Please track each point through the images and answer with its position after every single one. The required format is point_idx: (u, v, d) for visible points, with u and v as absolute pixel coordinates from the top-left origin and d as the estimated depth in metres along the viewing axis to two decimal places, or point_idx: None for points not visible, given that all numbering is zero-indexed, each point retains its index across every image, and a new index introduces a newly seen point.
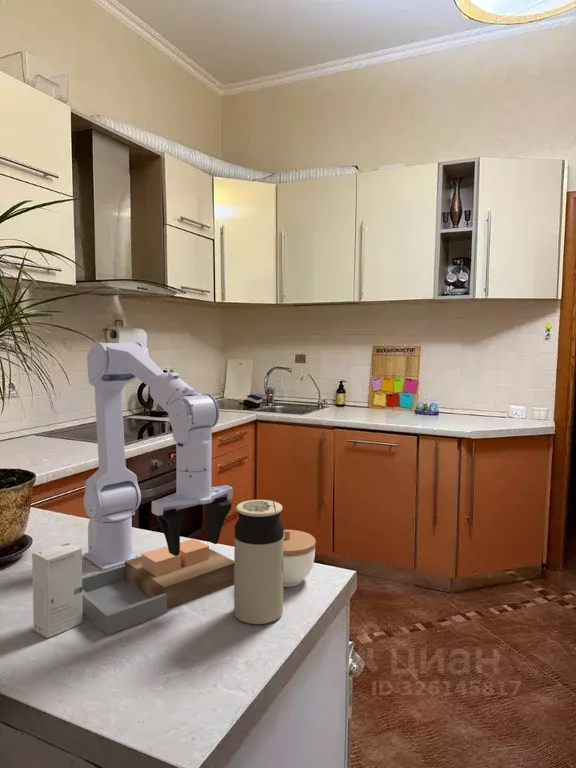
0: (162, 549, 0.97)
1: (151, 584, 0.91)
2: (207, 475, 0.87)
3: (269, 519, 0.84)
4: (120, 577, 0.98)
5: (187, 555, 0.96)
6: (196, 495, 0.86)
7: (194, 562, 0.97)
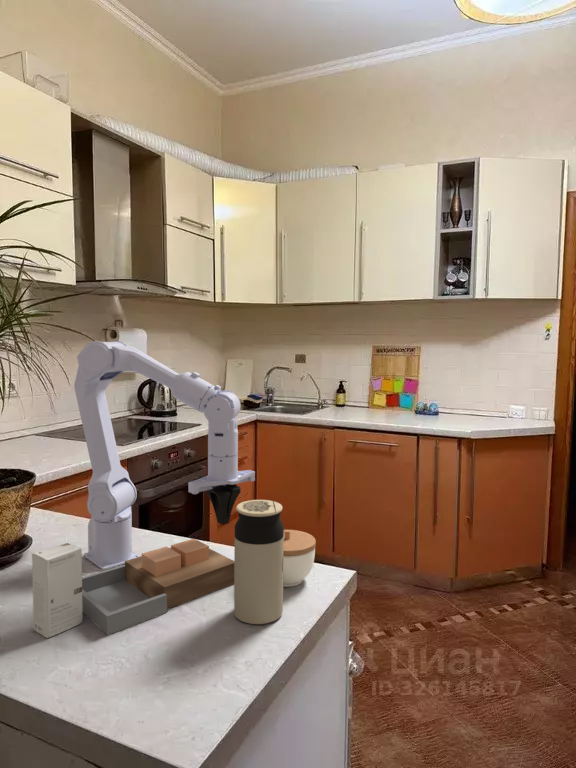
0: (162, 549, 0.97)
1: (151, 584, 0.91)
2: (234, 460, 1.02)
3: (269, 519, 0.84)
4: (120, 577, 0.98)
5: (187, 555, 0.96)
6: (225, 477, 1.01)
7: (194, 562, 0.97)
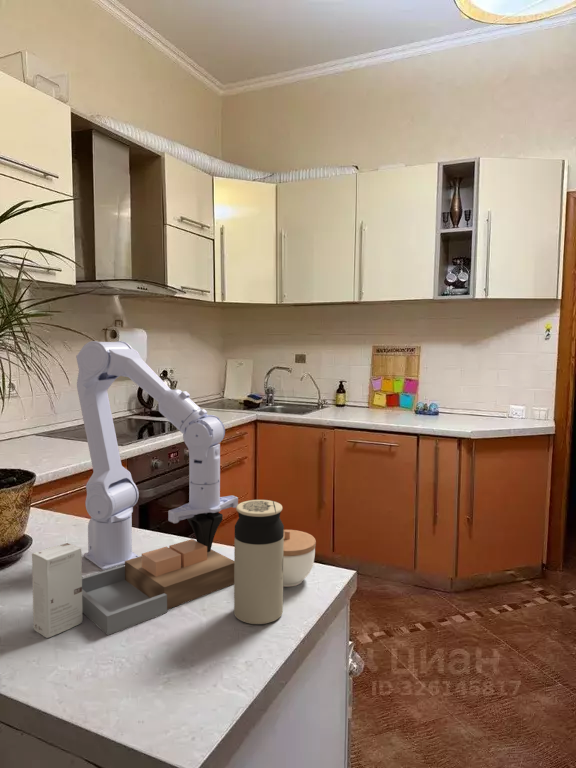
0: (162, 549, 0.97)
1: (151, 584, 0.91)
2: (216, 487, 0.99)
3: (269, 519, 0.84)
4: (120, 577, 0.98)
5: (186, 555, 0.96)
6: (207, 505, 0.98)
7: (192, 563, 0.97)
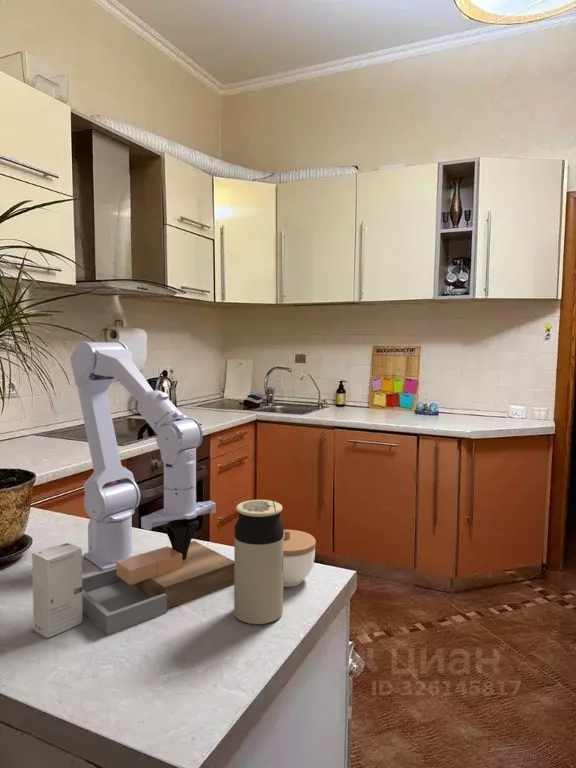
0: (138, 556, 0.94)
1: (151, 584, 0.91)
2: (191, 492, 0.95)
3: (269, 519, 0.84)
4: None
5: (159, 564, 0.92)
6: (182, 511, 0.95)
7: (166, 571, 0.93)
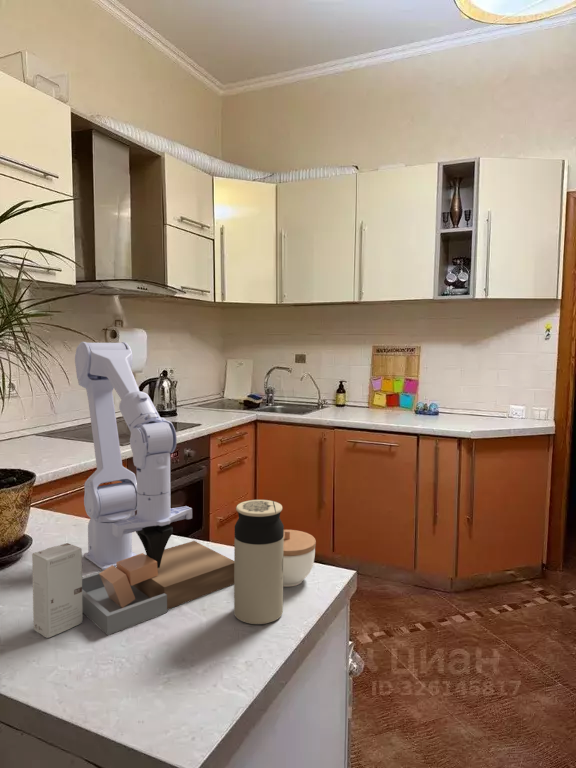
0: (103, 581, 0.90)
1: (151, 584, 0.91)
2: (165, 498, 0.92)
3: (269, 519, 0.84)
4: None
5: (132, 573, 0.89)
6: (155, 517, 0.91)
7: (140, 580, 0.90)
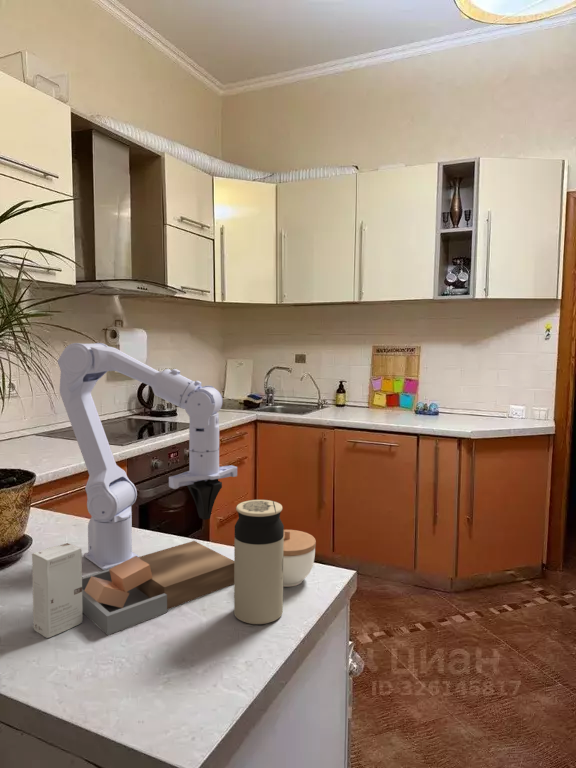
0: None
1: (151, 584, 0.91)
2: (215, 455, 1.02)
3: (269, 519, 0.84)
4: None
5: (125, 580, 0.88)
6: (206, 472, 1.01)
7: (134, 585, 0.89)
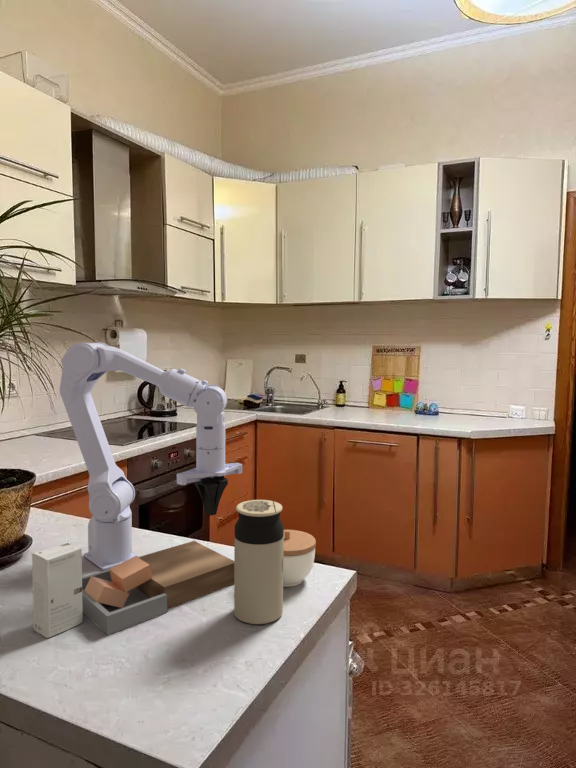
0: None
1: (151, 584, 0.91)
2: (222, 452, 1.05)
3: (269, 519, 0.84)
4: None
5: (125, 580, 0.88)
6: (213, 469, 1.04)
7: (134, 585, 0.89)
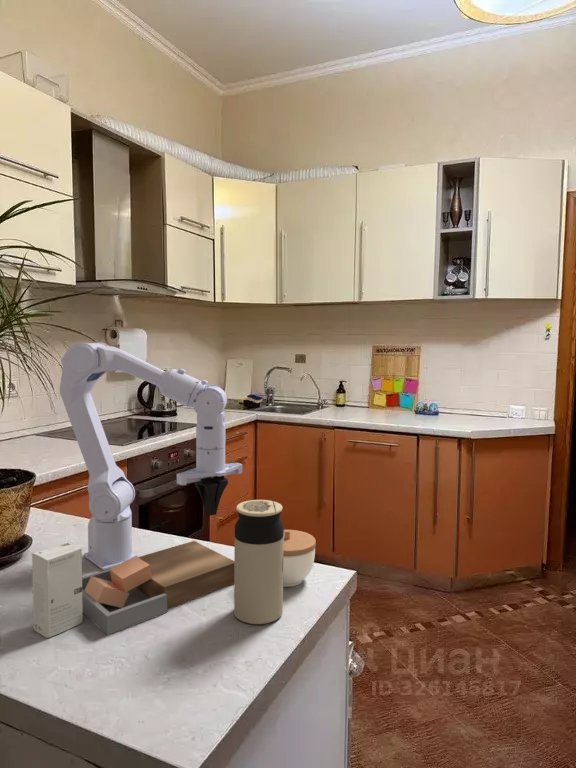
0: None
1: (151, 584, 0.91)
2: (222, 452, 1.05)
3: (269, 519, 0.84)
4: None
5: (125, 580, 0.88)
6: (213, 469, 1.04)
7: (134, 585, 0.89)
